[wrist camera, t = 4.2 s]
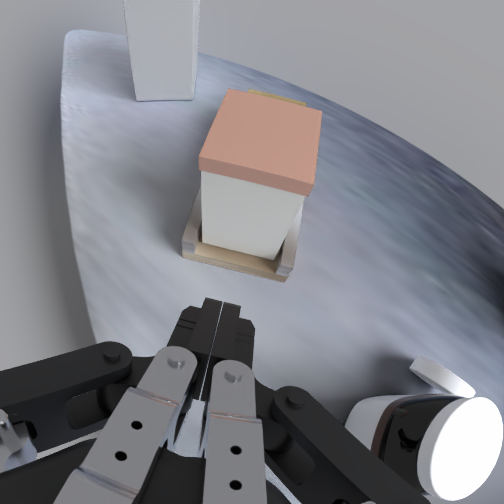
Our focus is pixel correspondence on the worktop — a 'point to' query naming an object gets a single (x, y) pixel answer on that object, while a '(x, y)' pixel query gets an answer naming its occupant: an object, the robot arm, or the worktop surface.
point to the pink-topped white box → (256, 171)
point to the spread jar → (432, 433)
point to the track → (235, 259)
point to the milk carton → (163, 47)
